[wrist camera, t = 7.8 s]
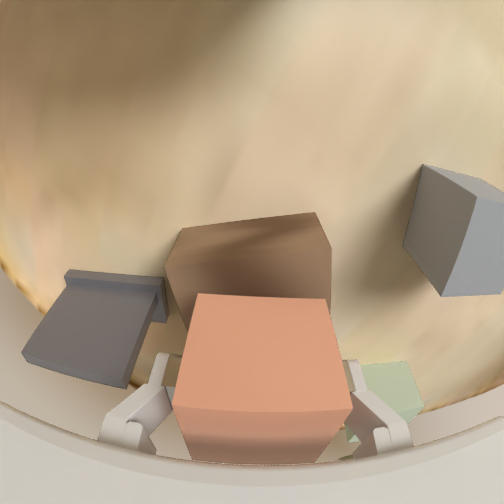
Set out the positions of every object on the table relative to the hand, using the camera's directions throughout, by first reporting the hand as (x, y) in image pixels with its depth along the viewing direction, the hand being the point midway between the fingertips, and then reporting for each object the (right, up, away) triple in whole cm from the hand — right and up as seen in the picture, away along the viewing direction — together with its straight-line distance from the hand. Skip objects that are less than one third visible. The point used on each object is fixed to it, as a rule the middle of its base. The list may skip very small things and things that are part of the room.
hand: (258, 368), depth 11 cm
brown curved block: (0, +3, +6) cm, 7 cm away
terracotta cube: (0, +1, +1) cm, 2 cm away
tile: (-9, +2, +7) cm, 11 cm away
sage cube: (+10, -7, +12) cm, 17 cm away
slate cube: (+11, +7, +3) cm, 14 cm away
